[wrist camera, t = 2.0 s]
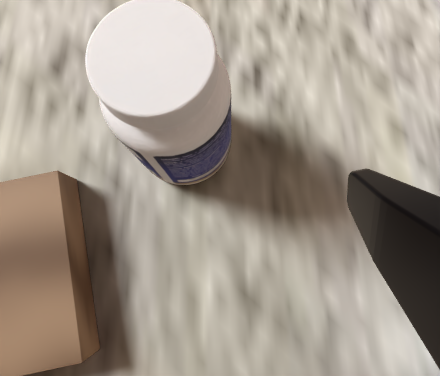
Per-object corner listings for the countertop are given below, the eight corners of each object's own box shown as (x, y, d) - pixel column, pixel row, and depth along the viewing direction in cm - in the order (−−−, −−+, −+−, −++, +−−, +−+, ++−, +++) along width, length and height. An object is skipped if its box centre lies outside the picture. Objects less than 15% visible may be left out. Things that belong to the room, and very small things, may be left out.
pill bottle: (239, 108, 22) (247, -4, 12) (220, 195, 21) (213, 148, 12) (152, 91, 23) (93, -31, 13) (129, 176, 22) (47, 115, 12)
